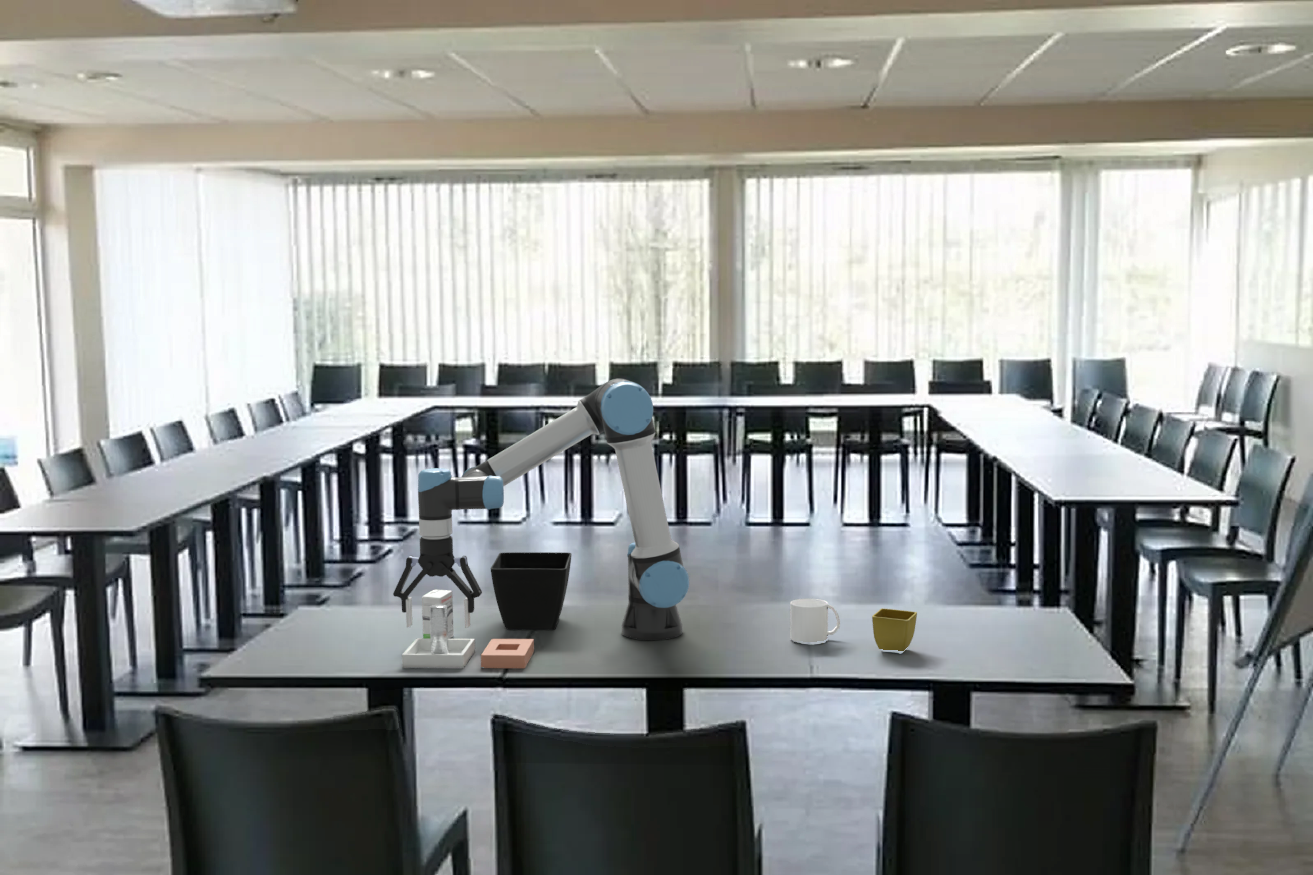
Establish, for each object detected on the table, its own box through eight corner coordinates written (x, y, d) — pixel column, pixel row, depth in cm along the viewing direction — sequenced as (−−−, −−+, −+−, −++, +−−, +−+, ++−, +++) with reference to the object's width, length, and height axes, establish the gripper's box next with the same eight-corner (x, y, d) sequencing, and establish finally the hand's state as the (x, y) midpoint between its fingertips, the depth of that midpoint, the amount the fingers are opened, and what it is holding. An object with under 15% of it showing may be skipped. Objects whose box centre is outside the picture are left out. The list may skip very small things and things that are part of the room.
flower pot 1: (567, 633, 335) (566, 567, 333) (491, 634, 335) (489, 567, 334) (572, 614, 354) (571, 552, 352) (501, 615, 354) (499, 552, 352)
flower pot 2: (917, 648, 319) (917, 611, 318) (908, 658, 311) (908, 620, 310) (881, 644, 323) (881, 607, 321) (870, 653, 315) (871, 616, 314)
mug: (790, 645, 323) (790, 607, 322) (790, 635, 332) (790, 598, 331) (840, 646, 322) (840, 607, 321) (839, 636, 331) (839, 599, 330)
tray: (475, 651, 320) (474, 638, 319) (463, 668, 306) (462, 655, 305) (416, 651, 320) (416, 638, 320) (402, 668, 306) (402, 654, 306)
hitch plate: (534, 651, 319) (533, 639, 319) (524, 668, 305) (524, 655, 305) (492, 651, 320) (491, 638, 319) (481, 668, 306) (480, 655, 306)
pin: (450, 654, 315) (448, 604, 313) (446, 659, 311) (445, 608, 309) (433, 654, 315) (431, 604, 314) (429, 659, 311) (427, 608, 310)
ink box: (441, 645, 325) (440, 597, 324) (422, 644, 326) (420, 596, 325) (454, 636, 334) (453, 589, 332) (435, 635, 335) (434, 588, 333)
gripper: (492, 533, 313) (494, 622, 315) (386, 532, 314) (389, 621, 317) (486, 539, 305) (488, 630, 308) (378, 539, 307) (381, 630, 309)
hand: (438, 626), depth 312 cm, fingers open, 13 cm apart
